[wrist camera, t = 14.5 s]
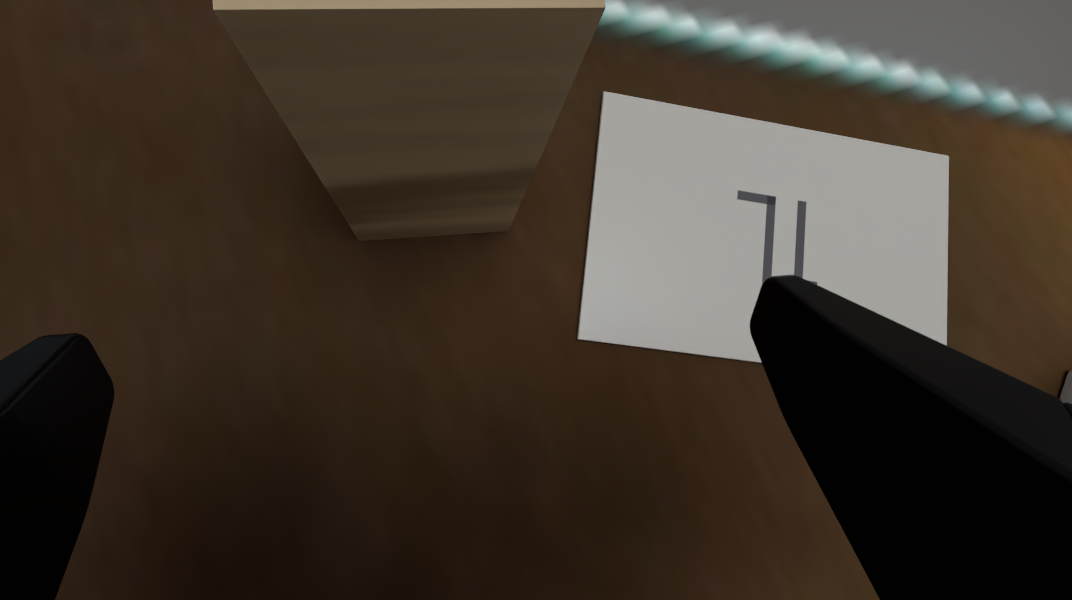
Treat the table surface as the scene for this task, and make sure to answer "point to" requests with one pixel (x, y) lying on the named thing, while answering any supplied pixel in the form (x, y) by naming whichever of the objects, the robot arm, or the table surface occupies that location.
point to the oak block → (417, 100)
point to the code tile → (752, 226)
